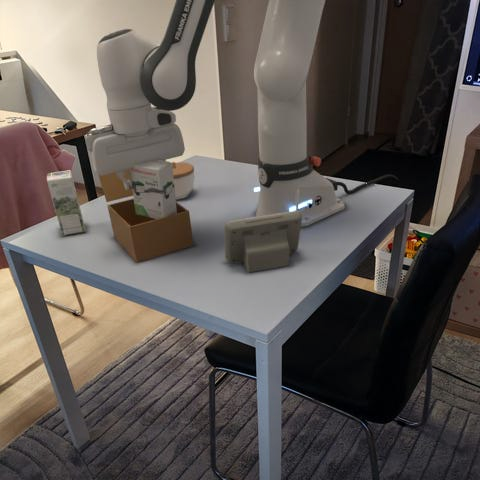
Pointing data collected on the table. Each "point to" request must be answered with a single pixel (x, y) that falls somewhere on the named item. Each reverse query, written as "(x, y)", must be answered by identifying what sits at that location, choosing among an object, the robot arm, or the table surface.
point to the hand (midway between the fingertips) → (144, 184)
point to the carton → (149, 231)
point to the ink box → (154, 189)
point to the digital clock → (263, 240)
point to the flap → (115, 186)
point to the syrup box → (66, 202)
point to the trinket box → (183, 179)
